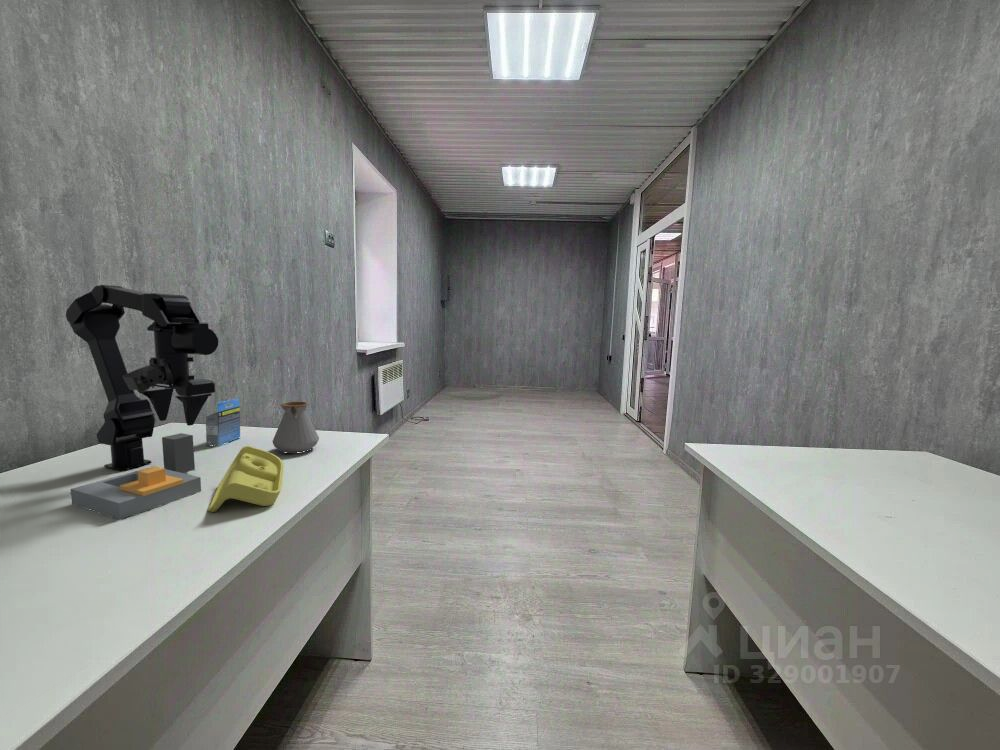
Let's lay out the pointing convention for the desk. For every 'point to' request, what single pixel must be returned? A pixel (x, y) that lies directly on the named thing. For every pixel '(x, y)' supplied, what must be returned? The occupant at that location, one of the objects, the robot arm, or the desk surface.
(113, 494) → the socket board
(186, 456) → the grey box
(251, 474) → the plastic component
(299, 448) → the coffee pot
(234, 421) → the label tape box
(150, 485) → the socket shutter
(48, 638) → the desk surface
